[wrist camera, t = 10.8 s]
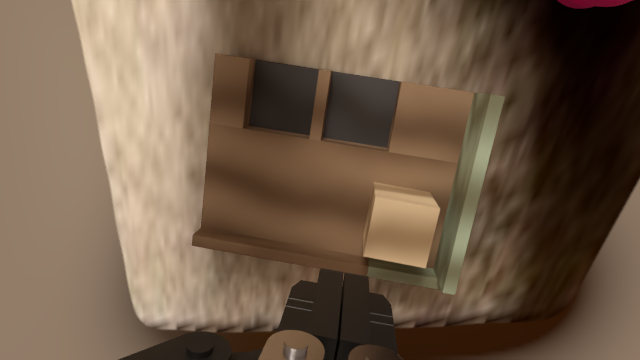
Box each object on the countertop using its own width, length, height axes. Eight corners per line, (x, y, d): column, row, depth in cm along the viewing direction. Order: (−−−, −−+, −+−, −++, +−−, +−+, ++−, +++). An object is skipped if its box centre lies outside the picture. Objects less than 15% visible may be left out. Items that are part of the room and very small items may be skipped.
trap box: (224, 55, 38) (195, 49, 31) (478, 93, 37) (504, 96, 30) (209, 228, 42) (180, 256, 35) (436, 268, 41) (452, 305, 34)
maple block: (373, 182, 37) (375, 197, 32) (429, 192, 37) (440, 209, 32) (363, 234, 38) (363, 256, 33) (417, 244, 38) (425, 268, 33)
